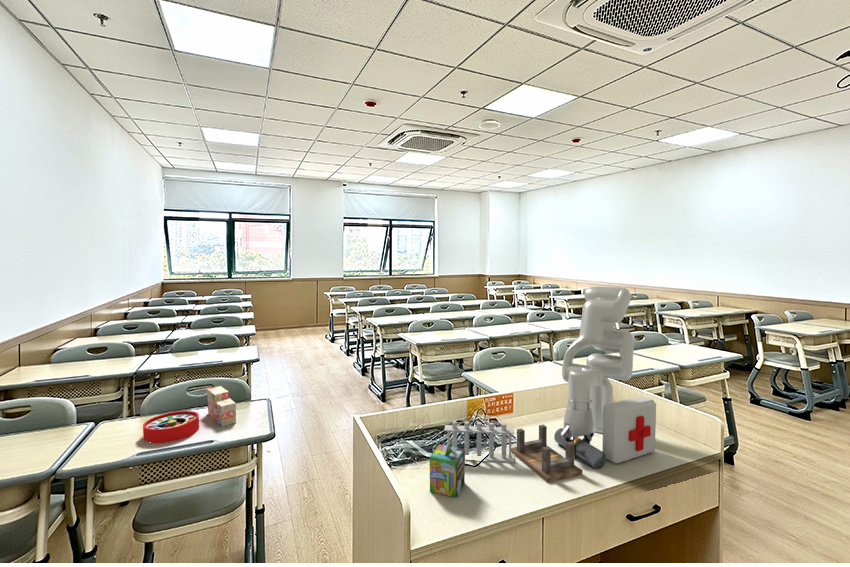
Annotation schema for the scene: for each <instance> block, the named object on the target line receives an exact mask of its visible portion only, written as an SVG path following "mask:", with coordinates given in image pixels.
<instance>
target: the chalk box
mask: <svg viewBox="0 0 850 567" xmlns="http://www.w3.org/2000/svg"><path fill="white" fill-rule="evenodd" d="M452 441H453V440H452V439H451V440H450V444H449V445H448V444H447V445H445V444H441V443H439V444H438V445H437V446H436V448H435V449H434V450H433V451H432V453H431V454H430V456H429V492H430V491H431V493H434V492H435V494H439V495H443V494H444V496H447V495H449V496H448V497H451V496H452V498H455V497H457V498H458V496H459V494H460V492H461V490H462V488H463V487H464V485H465V483H466V482H465V479H466V478H465V471H466V470H465V467H466V466H465V465H466V464H465V463H466V462H465V448H460V447H457V448H456V447H452Z"/></svg>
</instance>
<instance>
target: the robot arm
mask: <svg viewBox="0 0 850 567" xmlns="http://www.w3.org/2000/svg"><path fill="white" fill-rule="evenodd" d="M584 300H585V302H584V304H583V308H582V311H581V312H582V313H581V320H580V321H581V322H580V328H579V335H578V337H577V339H575V340H574V341H573V342H571V343H570V344H569V346H568V347H567V349H566V351H565V353H564V355H563V359H562V360H563V361H562V367H561V376H562V379H563V380H564V381H565V382H566V383H568V388H567V389H568V391H567V392H568V395H567V396H568V402H567V403H568V405H567V407H566V408H565V411H564V417H563V429H564V430H563V431H562V433H561V434H560V435H561V437H562V438H564V440H565V441H566V442H572V443H574V441H575V438H576V437H579V438H580V437H583V438H582V440H584V441H585V442H587V443H589V444H590V445H591V442H592V441H593V440H592V438H593V437H594V436H595V433H599V434H603V406H605V405H606V404H610V403H614V401H613V400H614V399H613V398H614V397H613V395H614V387H613V384H612V383H611V382H610V380H609V379H613V380H619V381H628V380H630V379H631V378H632V376H633V369H634V368H633V367H634V348H635V347H634V336H633V334H632V332H631V331H629V330H626V329H616V328H615V323H617V324H618V323H621V322H622V321H623V319H624V318H625V315H626V312H627V310H628V308H629V305H630V302H631V293H630V290H628V289H627V288H625V287H620V286H619V287H617V286H616V287H615V286H590V287H587V288H586V289H585V290H584ZM591 346H592V347H593V349H595V350H598V351H602V352H603V351H604V352H612V353H618V354H619V355H612V354H605V353H592V354H589V355H588V356H587V358H586V360H585V361H586V363H585V364H580V363H573V360H574V358H575V356H576V354H577V353H578V352H580V351H581V350H583V349H586V348H587V347H591ZM567 433H568V435H567ZM566 435H567V436H566ZM571 437H572V438H571ZM570 438H571V440H570ZM574 456H576V455H575V445H574Z"/></svg>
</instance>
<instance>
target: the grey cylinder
mask: <svg viewBox="0 0 850 567" xmlns="http://www.w3.org/2000/svg"><path fill="white" fill-rule="evenodd" d="M563 428H564V427H563ZM563 428H562V427H560V428H558V429H557V430H556V431H555V433H554V435H553V437H554V441H555V442H556V443H557V444H558V445H560V446H562V447H563V448H564V449H566V441H565V440H564V438H562V437H561V435H560V434H561V433H562V431H563V430H564V429H563ZM567 435H568V433H567ZM567 435H566V436H567ZM571 438H572V437H571ZM571 438H570V440H571ZM574 445H575V455H574V456H577V457H578V458H579V459H581V460H583V461H584V462H585V463H587V464H588V465H590V466H592V468H595V469H601V468H603V467H604V466H605V464H606V462H607V459H606V455H605V453H604V452H602V450H601V449H598V448H597V447H595V446H594V445H592V444H591V443H590V444H589V443H587V442H585V441H584V440H583V438H580V436H579V437H576V438H575V441H574Z"/></svg>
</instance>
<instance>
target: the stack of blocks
mask: <svg viewBox="0 0 850 567" xmlns="http://www.w3.org/2000/svg"><path fill="white" fill-rule="evenodd" d="M206 395H207V396H206V398H207V400H206V401H207V413H209V414H210V415H211V416H212V417H213V418H214V419H215V420H214V419H213V418H212V417H211V416H210V415H209V414H208V415H209V416H210V417H211V418H212V419H213V420H214V421H216V422H217V424H218V425H219V426H221V427H226V426H229V424H230V425H233V424H236V423H237V413H236V412H237V411H236V410H237V409H236V408H237V403H236V402H235V401H234V400H232V399H231V398H230V392H229V391H228V390H227V389H225V387H223V386H221V385H220V386H214V387H209V388H206ZM232 423H233V424H232Z"/></svg>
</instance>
